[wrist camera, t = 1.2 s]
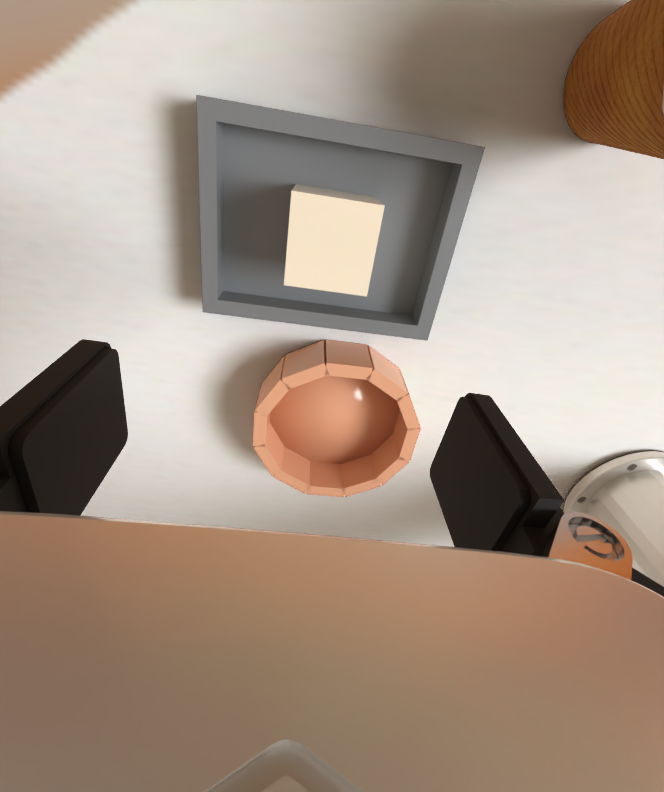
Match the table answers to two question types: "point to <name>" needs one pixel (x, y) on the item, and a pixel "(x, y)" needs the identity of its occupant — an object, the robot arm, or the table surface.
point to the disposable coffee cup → (621, 81)
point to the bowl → (334, 419)
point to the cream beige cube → (332, 240)
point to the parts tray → (337, 170)
